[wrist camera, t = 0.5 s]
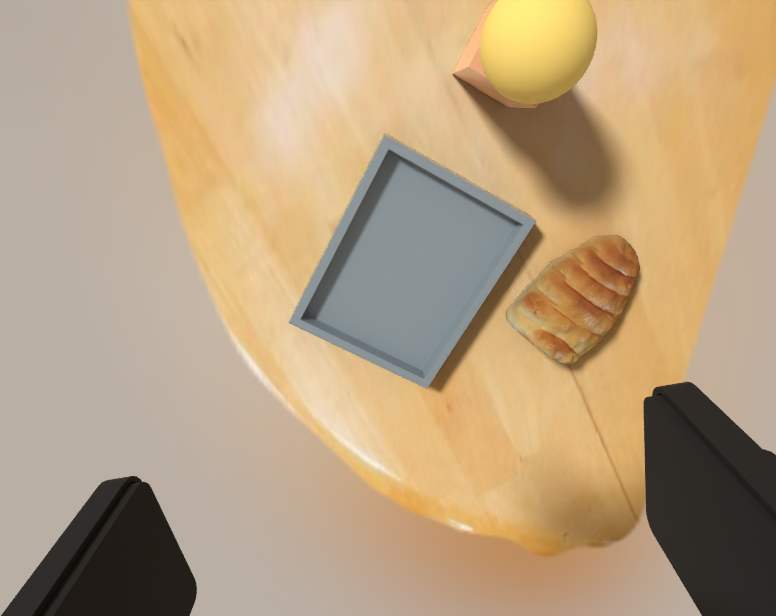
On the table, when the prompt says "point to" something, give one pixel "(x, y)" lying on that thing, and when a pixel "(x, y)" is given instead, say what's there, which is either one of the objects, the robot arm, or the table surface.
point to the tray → (409, 263)
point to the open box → (481, 68)
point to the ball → (537, 47)
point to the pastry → (576, 298)
